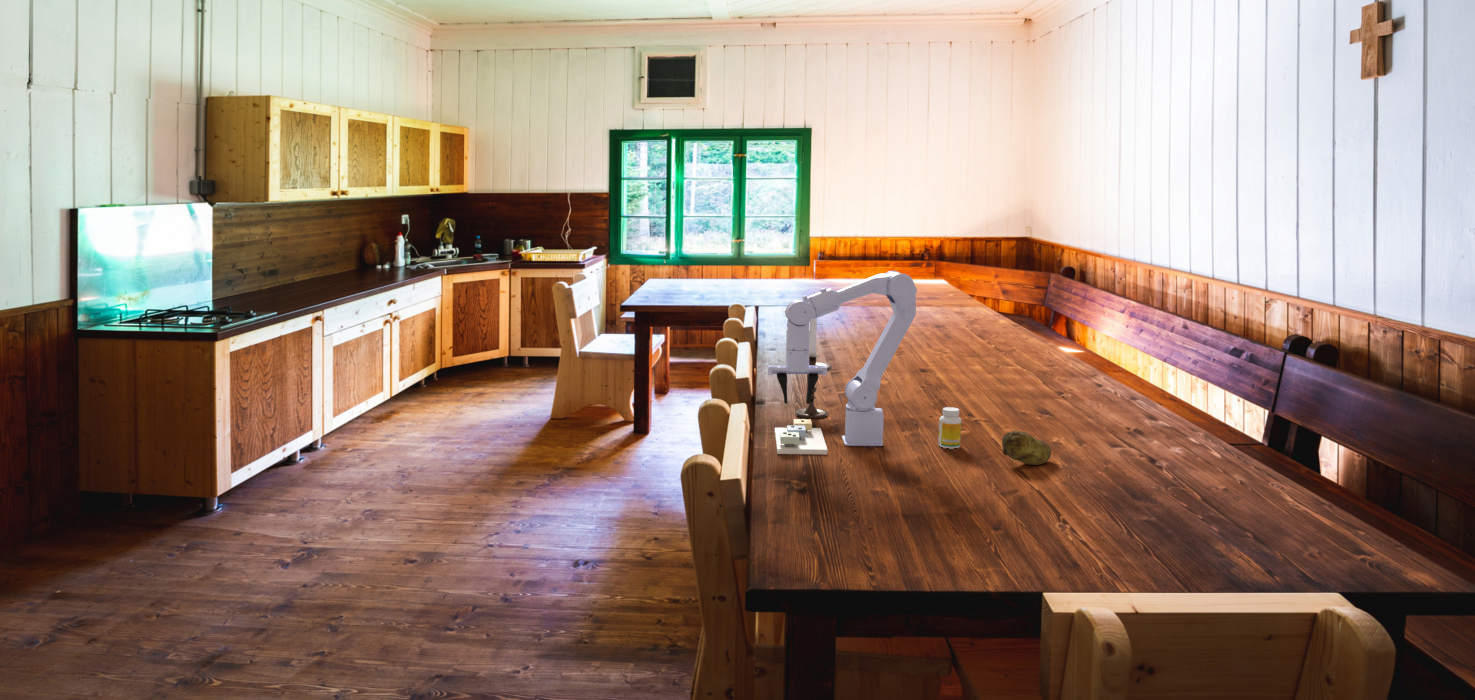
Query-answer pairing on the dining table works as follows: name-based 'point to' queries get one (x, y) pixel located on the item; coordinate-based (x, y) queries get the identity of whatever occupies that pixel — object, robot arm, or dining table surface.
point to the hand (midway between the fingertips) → (796, 402)
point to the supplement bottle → (949, 428)
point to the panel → (803, 443)
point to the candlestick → (811, 410)
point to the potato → (1025, 448)
